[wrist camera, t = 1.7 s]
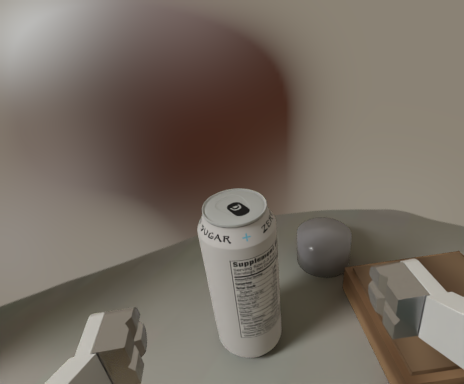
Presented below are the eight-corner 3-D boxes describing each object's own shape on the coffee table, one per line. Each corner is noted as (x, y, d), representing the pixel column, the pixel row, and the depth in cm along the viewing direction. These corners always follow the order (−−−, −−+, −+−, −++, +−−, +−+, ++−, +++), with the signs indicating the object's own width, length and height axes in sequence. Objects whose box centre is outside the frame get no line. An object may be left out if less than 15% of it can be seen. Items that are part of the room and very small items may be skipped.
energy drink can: (255, 299, 36) (242, 176, 28) (295, 338, 31) (293, 205, 23) (208, 330, 33) (179, 204, 25) (243, 377, 28) (222, 243, 21)
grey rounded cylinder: (288, 266, 39) (287, 240, 37) (309, 237, 43) (309, 212, 41) (338, 285, 36) (340, 257, 34) (356, 252, 40) (359, 225, 38)
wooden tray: (401, 407, 25) (408, 381, 23) (342, 288, 36) (344, 263, 34) (554, 383, 25) (573, 356, 24) (452, 272, 36) (460, 247, 34)
